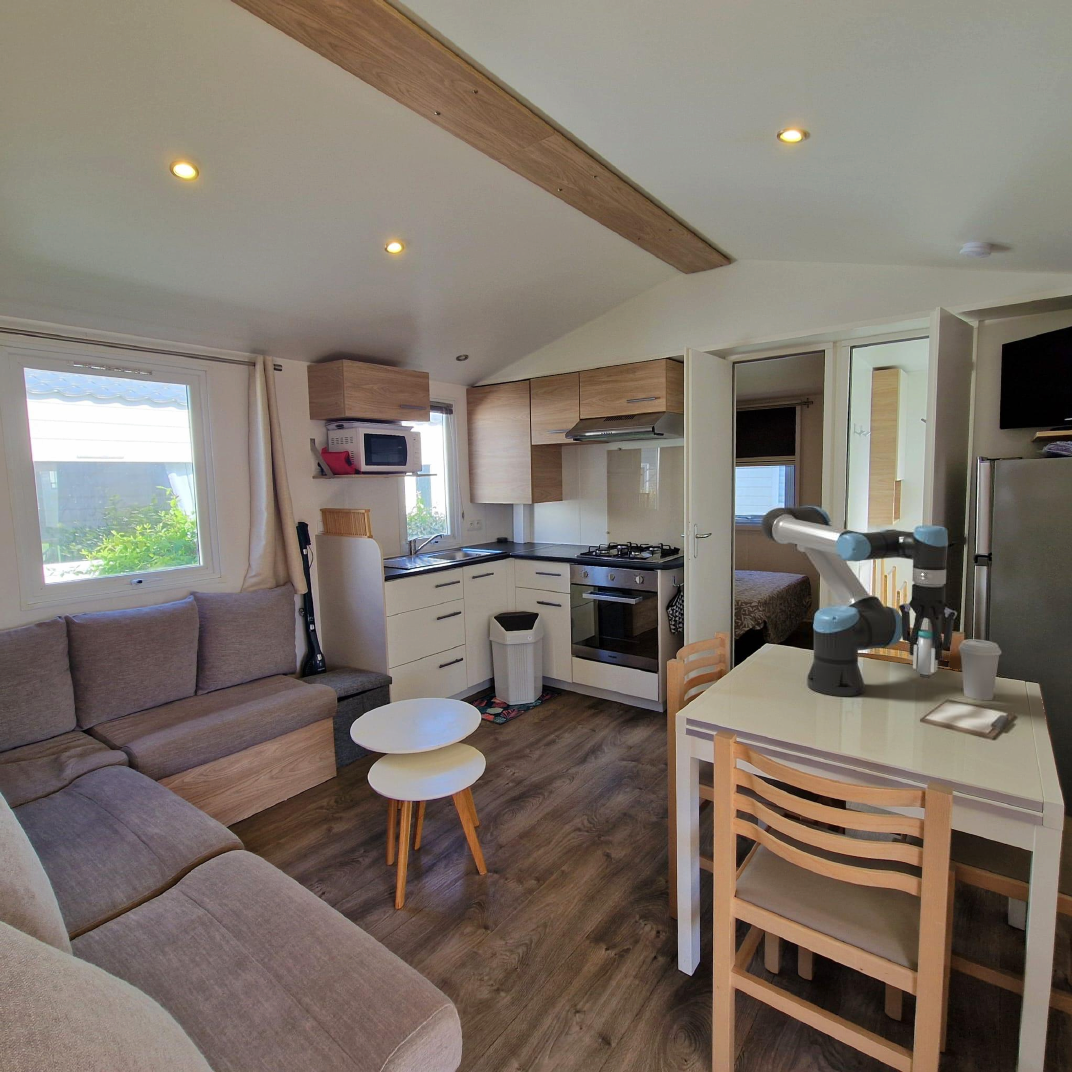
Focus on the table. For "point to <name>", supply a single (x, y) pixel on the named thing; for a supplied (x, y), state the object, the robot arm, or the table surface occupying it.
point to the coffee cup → (979, 668)
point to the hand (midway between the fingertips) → (924, 669)
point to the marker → (924, 653)
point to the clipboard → (968, 718)
